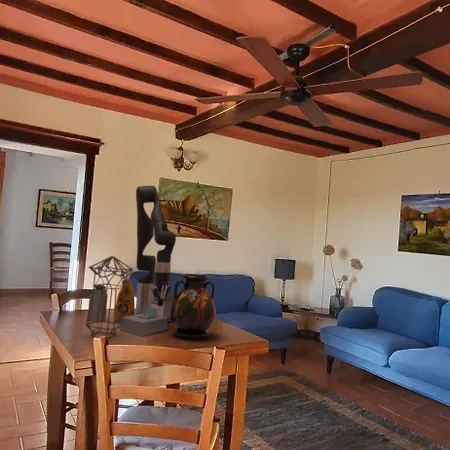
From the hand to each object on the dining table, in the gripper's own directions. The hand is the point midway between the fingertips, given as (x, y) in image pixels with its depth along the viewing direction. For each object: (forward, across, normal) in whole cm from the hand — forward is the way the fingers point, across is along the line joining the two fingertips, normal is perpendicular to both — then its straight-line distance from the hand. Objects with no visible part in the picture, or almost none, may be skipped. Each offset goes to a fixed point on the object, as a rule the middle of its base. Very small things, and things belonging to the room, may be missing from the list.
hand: (160, 306), depth 200 cm
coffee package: (+10, +4, -20) cm, 23 cm away
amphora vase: (+11, +1, +21) cm, 24 cm away
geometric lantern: (+11, +30, -4) cm, 32 cm away
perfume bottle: (+10, +13, -30) cm, 34 cm away
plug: (+10, -5, -6) cm, 13 cm away
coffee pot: (+10, -19, -4) cm, 22 cm away
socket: (+10, +11, 0) cm, 15 cm away
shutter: (+4, +9, 0) cm, 10 cm away
